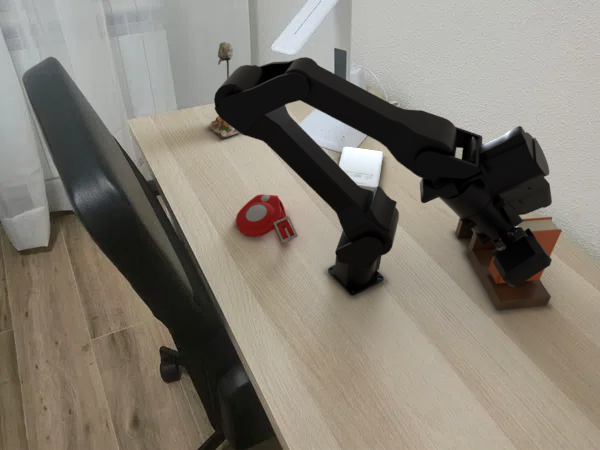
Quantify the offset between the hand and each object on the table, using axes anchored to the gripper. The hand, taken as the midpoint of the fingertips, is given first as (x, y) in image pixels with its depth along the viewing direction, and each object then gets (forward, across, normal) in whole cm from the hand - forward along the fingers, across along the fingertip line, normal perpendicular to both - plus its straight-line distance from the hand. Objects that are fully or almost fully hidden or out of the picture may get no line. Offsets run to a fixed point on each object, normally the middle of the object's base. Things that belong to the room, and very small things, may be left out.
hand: (525, 252), depth 81 cm
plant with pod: (-23, +52, +34) cm, 67 cm away
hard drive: (-7, +32, +17) cm, 37 cm away
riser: (+5, +4, +5) cm, 8 cm away
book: (+3, 0, +4) cm, 5 cm away
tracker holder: (-20, +18, +31) cm, 41 cm away
